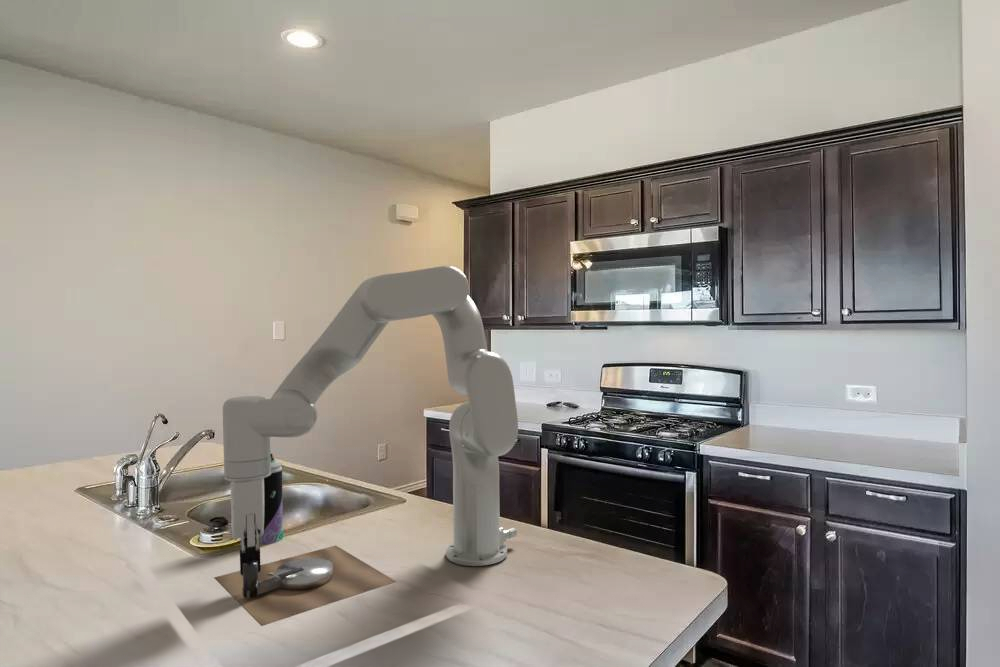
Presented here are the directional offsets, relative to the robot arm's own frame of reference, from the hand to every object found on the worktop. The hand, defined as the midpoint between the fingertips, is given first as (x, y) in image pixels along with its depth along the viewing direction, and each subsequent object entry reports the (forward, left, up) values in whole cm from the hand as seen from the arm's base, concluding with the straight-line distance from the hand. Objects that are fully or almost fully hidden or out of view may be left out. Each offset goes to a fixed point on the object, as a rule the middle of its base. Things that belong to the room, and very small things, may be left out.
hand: (250, 572), depth 107 cm
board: (-9, +2, -5) cm, 10 cm away
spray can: (-12, -23, -5) cm, 26 cm away
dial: (-6, +2, -3) cm, 7 cm away
